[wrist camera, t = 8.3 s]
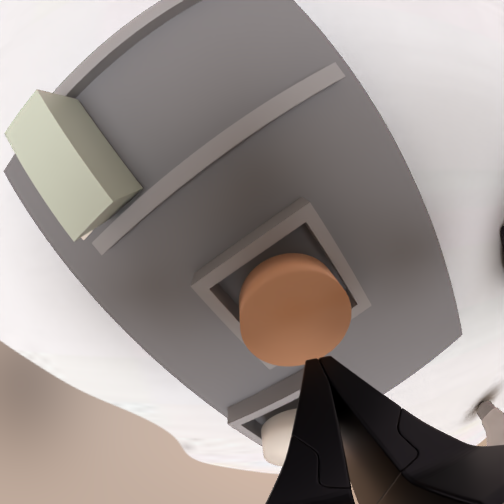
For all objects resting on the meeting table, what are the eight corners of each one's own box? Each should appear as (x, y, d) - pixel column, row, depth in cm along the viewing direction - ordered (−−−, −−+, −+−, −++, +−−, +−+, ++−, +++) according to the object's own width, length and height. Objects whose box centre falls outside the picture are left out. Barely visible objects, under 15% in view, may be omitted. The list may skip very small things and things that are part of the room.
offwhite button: (308, 398, 16) (315, 422, 14) (338, 425, 17) (345, 446, 15) (247, 427, 16) (248, 451, 14) (283, 451, 18) (287, 472, 16)
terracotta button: (305, 232, 12) (318, 247, 10) (351, 305, 13) (367, 327, 12) (218, 292, 13) (215, 316, 11) (275, 354, 14) (280, 381, 12)
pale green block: (77, 99, 11) (36, 89, 7) (143, 188, 12) (113, 201, 9) (48, 132, 11) (4, 133, 8) (108, 219, 13) (73, 241, 9)
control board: (250, -20, 11) (254, -53, 7) (449, 322, 19) (472, 344, 16) (22, 167, 13) (-13, 174, 10) (273, 432, 22) (277, 463, 19)
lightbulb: (457, 422, 26) (490, 474, 16) (481, 391, 24) (521, 444, 14) (480, 414, 27) (511, 460, 17) (501, 384, 25) (539, 430, 15)
